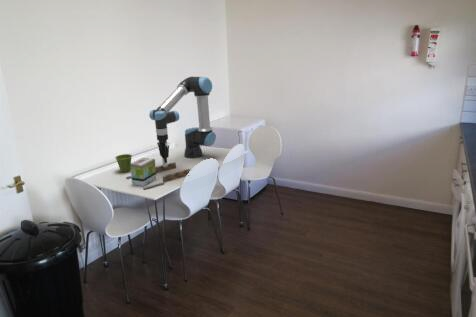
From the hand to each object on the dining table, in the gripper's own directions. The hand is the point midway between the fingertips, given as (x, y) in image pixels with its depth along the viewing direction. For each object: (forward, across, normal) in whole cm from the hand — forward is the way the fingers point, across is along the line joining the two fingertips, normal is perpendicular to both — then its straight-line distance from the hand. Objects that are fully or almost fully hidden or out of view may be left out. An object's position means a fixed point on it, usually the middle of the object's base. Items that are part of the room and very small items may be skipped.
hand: (165, 166), depth 247 cm
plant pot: (+7, -29, -18) cm, 35 cm away
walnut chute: (+7, 0, +3) cm, 7 cm away
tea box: (+7, 0, -17) cm, 18 cm away
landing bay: (+6, 0, -17) cm, 18 cm away
